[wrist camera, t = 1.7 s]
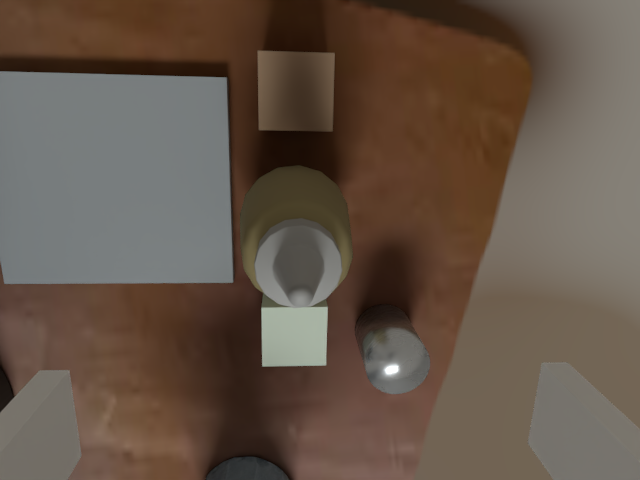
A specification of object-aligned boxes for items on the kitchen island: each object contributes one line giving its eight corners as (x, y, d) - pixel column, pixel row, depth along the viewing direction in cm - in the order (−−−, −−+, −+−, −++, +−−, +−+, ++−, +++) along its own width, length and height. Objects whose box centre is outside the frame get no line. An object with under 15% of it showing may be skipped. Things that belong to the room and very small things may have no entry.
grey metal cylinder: (353, 355, 42) (364, 394, 36) (356, 304, 41) (367, 337, 35) (408, 354, 43) (427, 393, 37) (412, 303, 41) (432, 336, 35)
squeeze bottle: (247, 154, 37) (212, 199, 19) (348, 164, 37) (402, 214, 20) (241, 252, 39) (205, 370, 21) (337, 259, 40) (377, 379, 22)
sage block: (264, 336, 41) (262, 366, 36) (264, 283, 40) (261, 307, 35) (321, 335, 42) (325, 365, 37) (322, 282, 40) (327, 307, 35)
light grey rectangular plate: (11, 279, 38) (4, 283, 37) (-25, 71, 34) (-34, 70, 33) (234, 278, 39) (233, 282, 38) (228, 78, 35) (226, 77, 34)
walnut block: (262, 126, 36) (258, 130, 31) (261, 58, 35) (257, 50, 30) (326, 128, 37) (332, 131, 32) (328, 59, 35) (334, 52, 30)
